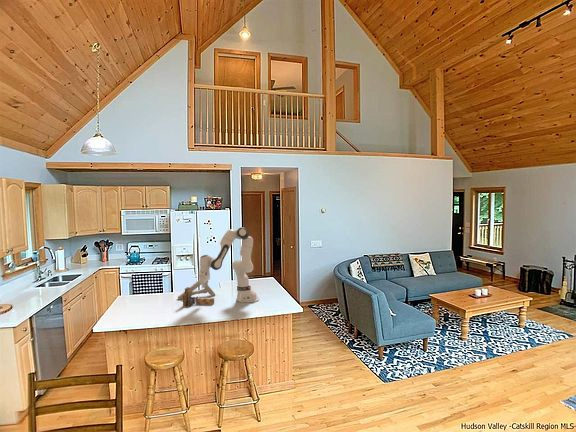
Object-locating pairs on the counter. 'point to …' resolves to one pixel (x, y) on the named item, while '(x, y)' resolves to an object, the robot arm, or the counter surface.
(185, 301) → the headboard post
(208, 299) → the rail
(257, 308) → the counter surface
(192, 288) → the wall bracket
